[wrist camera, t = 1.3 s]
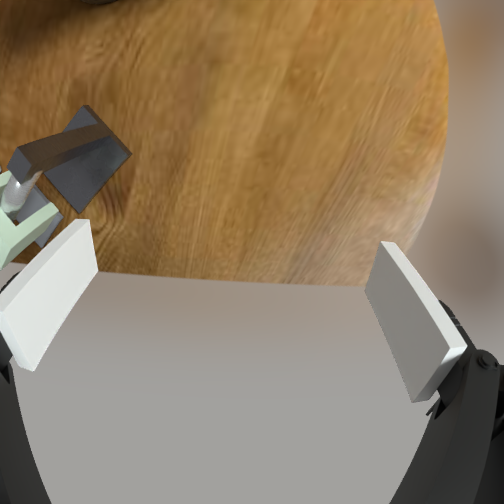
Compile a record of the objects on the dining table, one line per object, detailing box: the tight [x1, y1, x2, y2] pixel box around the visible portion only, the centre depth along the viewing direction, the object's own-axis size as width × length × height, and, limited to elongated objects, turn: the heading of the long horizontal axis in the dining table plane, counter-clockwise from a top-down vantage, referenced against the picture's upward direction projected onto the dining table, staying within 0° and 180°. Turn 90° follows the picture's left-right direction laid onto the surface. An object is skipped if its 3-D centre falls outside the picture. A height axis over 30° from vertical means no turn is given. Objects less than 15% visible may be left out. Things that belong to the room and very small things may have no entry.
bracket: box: [0, 171, 59, 271], centre depth 25 cm, size 8×4×10 cm, turn 39°
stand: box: [0, 105, 132, 223], centre depth 29 cm, size 10×14×18 cm
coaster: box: [16, 185, 63, 248], centre depth 40 cm, size 8×8×1 cm
